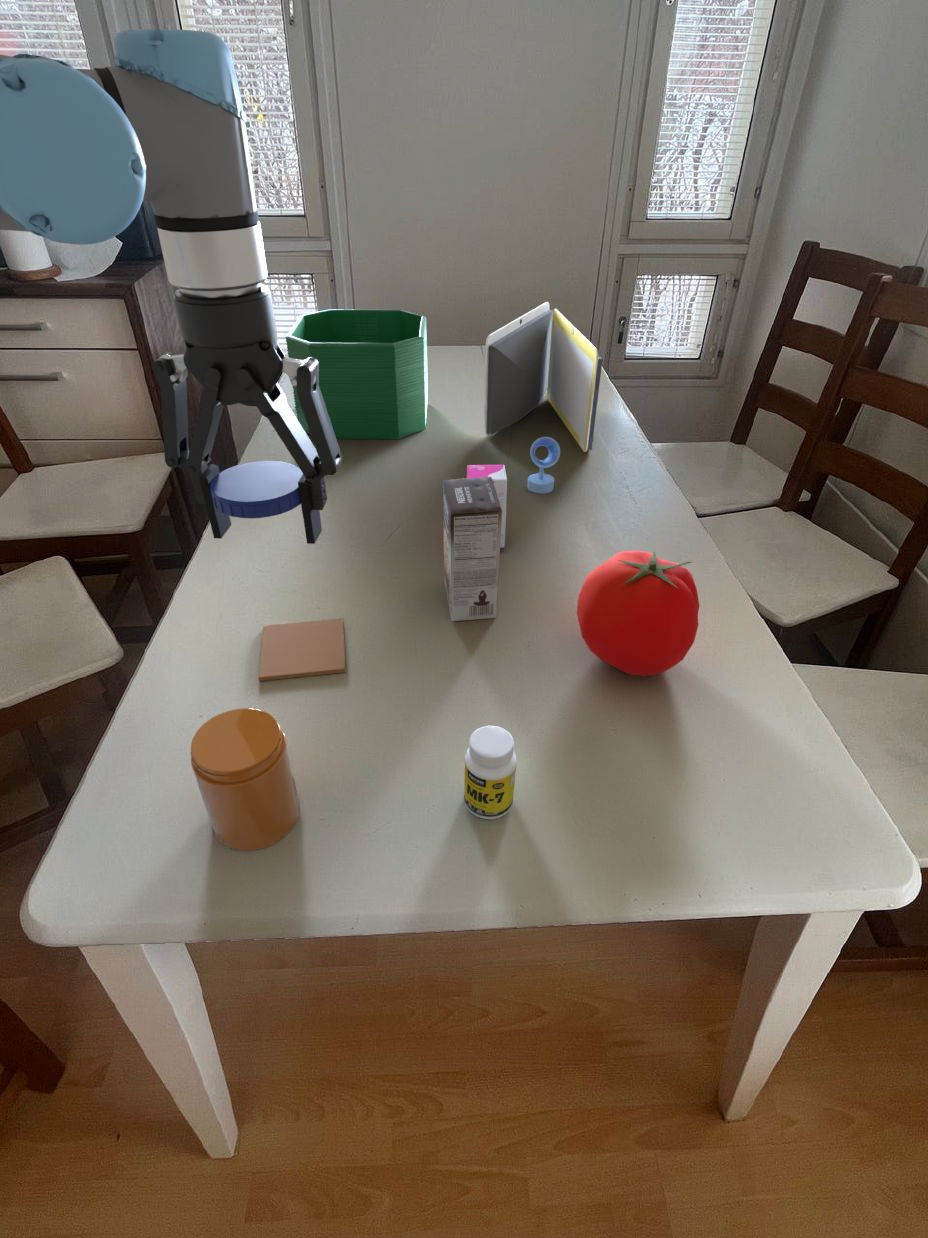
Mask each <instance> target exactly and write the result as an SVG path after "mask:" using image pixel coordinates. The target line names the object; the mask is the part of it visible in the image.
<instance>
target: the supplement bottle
mask: <svg viewBox="0 0 928 1238" xmlns="http://www.w3.org/2000/svg"><path fill="white" fill-rule="evenodd" d="M514 748H515V741H514V738H513V736H512V734H511V733H510V732H509V731H508V730H507V729H505V728H503V727H500V726H496V725H485V726H482V727H479V728H477V729H476V730H475V731H473V732H472V734H471V735H470V738H469V746H468V748H467V750H466V752H465V756H464V776H463V777H464V779H463V781H464V782H463V801H464V805H465V807H466V809H467V810H468V812H470V813H471V814H472V815H474V816H475V817H477V818H479V819H483V820H494V819H499V818H502V817H504V816H505V815H506V814H507V813H508V812H509V811H510V810H511V808H512V806H513V803H514V796H515V795H514V793H515V785H516V784H515V783H516V775H517V774H516V773H517V756H516V752H515V749H514Z"/></svg>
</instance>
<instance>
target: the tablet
mask: <svg viewBox="0 0 928 1238" xmlns="http://www.w3.org/2000/svg"><path fill="white" fill-rule="evenodd" d="M484 349H485V350H484V351H485V352H484V355H485V356H484V357H485V358H484V400H483V401H484V403H483V405H484V406H483V407H484V409H483V434H484V436H489V435H494V434H496V433H498V432H500V431H501V430H503V429H505V428H507V427H509V426H511V425H513V424H514V423H517V422H518V421H520V420H521V419H523V418H524V417H525V416H526V415H528V413H530V412H532V410H533V409H535V408H536V407H537V406H538V405H539V404H540V402H541V400H542V399H543V397H544V395H545V394H546V398H547V401H548V402H549V403H550V405H551V407H552V408H553V409H554V411H555V412H556V414H557V415H558V416H559V418H560V419H561V421H562V423H563V424H564V426H566V428H567V430H568V431H569V432H570V434H571V436H572V437H573V439H574V440H575V441H576V443H577V444H578V446H579V447H580V449H581V450H582V452H584V453H585V452H587V451H591V450H592V449H593V441H594V435H595V426H596V416H597V409H598V401H599V400H598V399H599V392H600V383H601V376H602V375H601V374H602V367H603V358H602V357H601V356H600V355H599V350H598V349H597V347H596V346H595V345H594V344H593V343H591V341H590V340H589V339H587V338H586V336H585V335H584V334H582V333H581V331H579V330H578V329H577V327H575V326H574V325H573V324H572V322H570V320H568V319H567V317H565V316H564V315H563V314H562V313H561V312H560V311H559V310H558V309H557V308H554V309H553V310H552V309H550V302H549V301H545V302H544V303H541V304H540V305H539V306H537V307H535V308H534V309H531V310H530V311H528V312H526V313H524V314H523V315H521V316H519V317H517V318H516V319H514V320H512V321H510V322H509V323H507V324H506V325H504V326H501V327H500V328H499V329H497V330H494V331H493V332H492V333H489V334H488V335H487V336H486V339H485V348H484Z"/></svg>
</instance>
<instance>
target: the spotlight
mask: <svg viewBox="0 0 928 1238" xmlns="http://www.w3.org/2000/svg"><path fill="white" fill-rule="evenodd" d="M539 447H545V448H546V449H547V451H548V455H547V456H546V458H545V459H538V458H537V457H536V450H537V449H538V448H539ZM529 456H530V459H531V461H532V462H533V464H534V465H536V466H537V467H539V471H538V472H536V473H532V474H530V475H529V476H528V477H527V483H526V485H527V489H528V491H530V492H532V493H535V494H548V493H551V492H552V491H553V490H554V485H555V478H554V477H553V476H552V475H551V474H548V473H545V468H547V469H548V468H550V467H553V466H554V465H555V464H557V462H558V461H559V459H560V457H561V448H560V445H559V443H558V442H557V440H555V439H554V438H553V437H550V436H541V437H539V438H537V439H536V440H535V441H533V443H532V444H531V446H530V450H529Z"/></svg>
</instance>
